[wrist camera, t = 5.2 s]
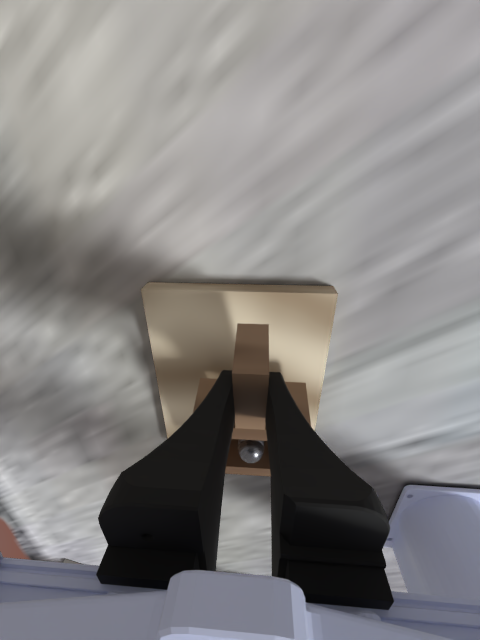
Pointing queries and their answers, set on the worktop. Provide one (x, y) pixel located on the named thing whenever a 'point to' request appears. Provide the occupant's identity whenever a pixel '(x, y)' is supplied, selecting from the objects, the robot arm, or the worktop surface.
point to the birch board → (234, 336)
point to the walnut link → (251, 396)
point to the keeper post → (250, 450)
